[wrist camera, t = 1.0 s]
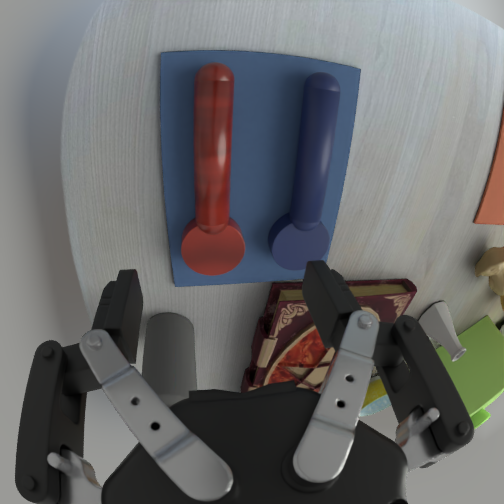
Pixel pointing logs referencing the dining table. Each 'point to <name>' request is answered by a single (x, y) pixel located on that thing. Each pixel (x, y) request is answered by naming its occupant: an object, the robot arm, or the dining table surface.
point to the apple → (502, 301)
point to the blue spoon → (309, 178)
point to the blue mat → (249, 151)
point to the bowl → (375, 397)
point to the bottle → (170, 357)
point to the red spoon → (212, 177)
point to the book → (311, 332)
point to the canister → (478, 368)
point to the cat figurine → (492, 268)
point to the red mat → (494, 188)
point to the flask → (442, 329)
